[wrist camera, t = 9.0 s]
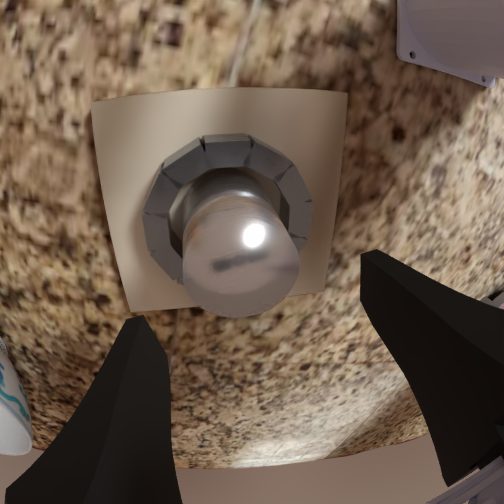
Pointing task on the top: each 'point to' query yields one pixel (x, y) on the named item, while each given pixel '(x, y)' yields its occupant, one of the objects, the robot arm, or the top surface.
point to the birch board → (209, 123)
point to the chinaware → (13, 410)
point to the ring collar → (216, 156)
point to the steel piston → (235, 246)
